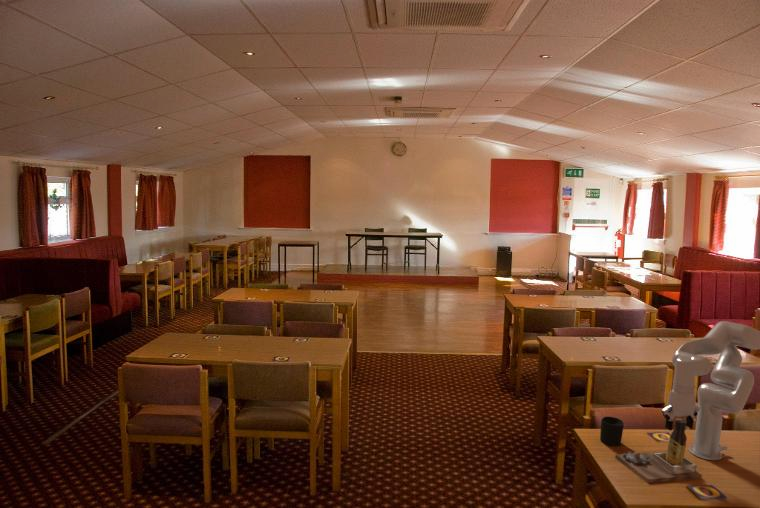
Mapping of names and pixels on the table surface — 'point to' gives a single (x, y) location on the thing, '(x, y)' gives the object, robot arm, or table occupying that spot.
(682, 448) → the sauce bottle
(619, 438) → the pen holder
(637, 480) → the table surface
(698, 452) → the robot arm
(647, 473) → the gear board
